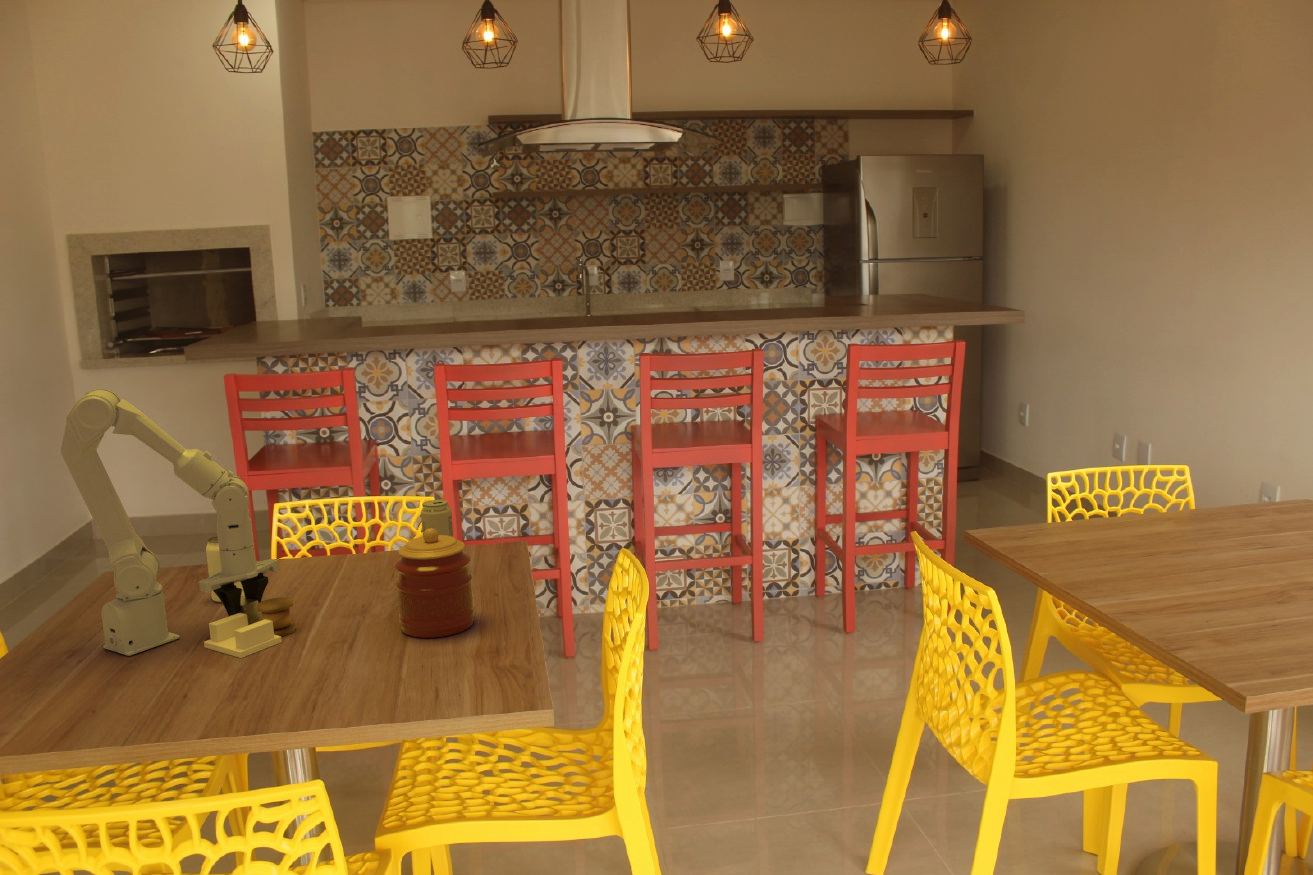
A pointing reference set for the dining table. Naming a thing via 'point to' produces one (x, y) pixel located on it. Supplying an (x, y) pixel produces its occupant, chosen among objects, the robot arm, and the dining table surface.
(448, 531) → the energy drink can
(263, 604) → the bobbin
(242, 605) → the tab
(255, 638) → the notch board
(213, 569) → the can
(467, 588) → the canister
